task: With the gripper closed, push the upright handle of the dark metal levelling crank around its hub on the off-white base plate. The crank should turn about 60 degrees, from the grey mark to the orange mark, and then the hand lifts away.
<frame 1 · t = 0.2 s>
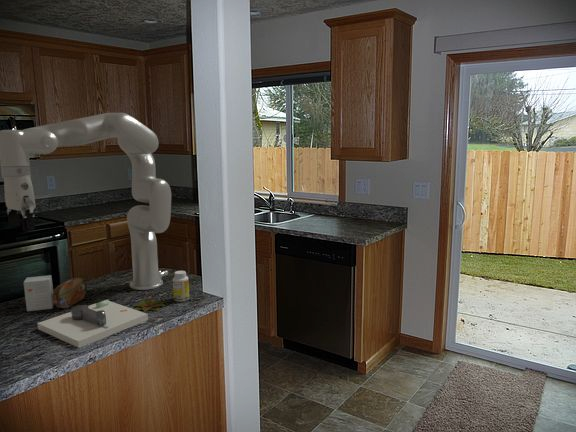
hand: (21, 228, 143), 31 cm above the countertop, tool pointing down, fingers open, 9 cm apart
knob: (89, 313, 146), point 4 cm above the countertop, hinge at 0.0°
supplement bottle: (181, 299, 170), on the countertop
small box: (41, 308, 163), on the countertop
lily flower: (149, 308, 164), on the countertop
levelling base: (94, 324, 149), on the countertop
tin: (71, 304, 166), on the countertop
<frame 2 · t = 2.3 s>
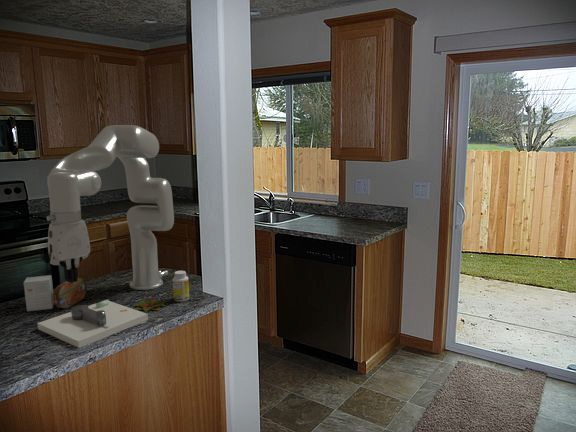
hand: (71, 281, 133), 18 cm above the countertop, tool pointing down, fingers closed
nothing on the countertop moved.
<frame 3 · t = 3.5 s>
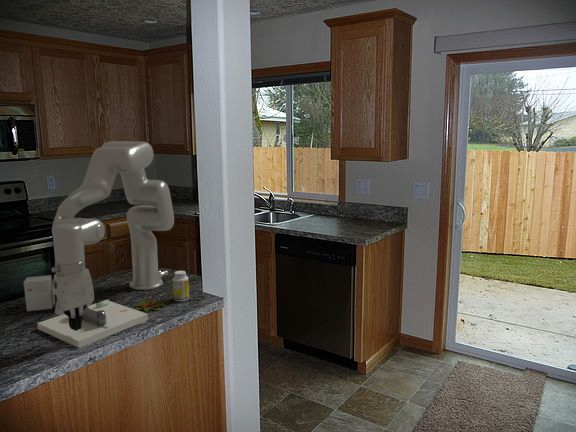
hand: (75, 328, 136), 4 cm above the countertop, tool pointing down, fingers closed
nothing on the countertop moved.
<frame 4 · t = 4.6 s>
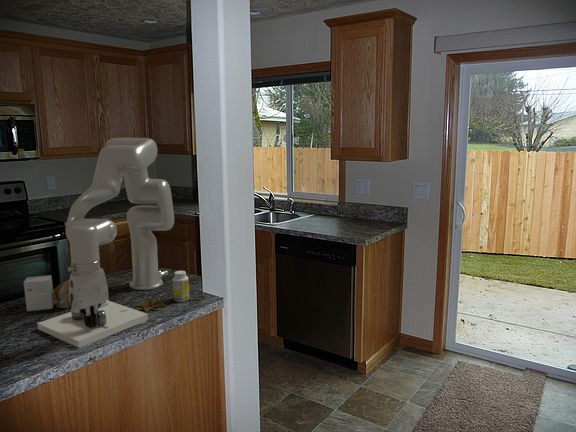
hand: (91, 326, 140), 3 cm above the countertop, tool pointing down, fingers closed
knob: (89, 313, 146), point 4 cm above the countertop, hinge at 0.2°, touching gripper
everything else where it was.
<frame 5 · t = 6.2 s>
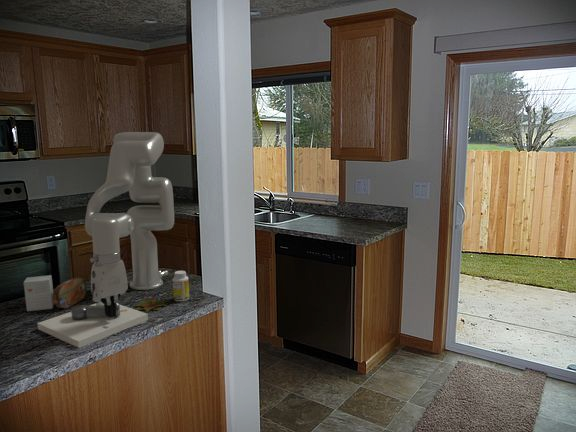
hand: (110, 315, 146), 4 cm above the countertop, tool pointing down, fingers closed
knob: (95, 310, 149), point 4 cm above the countertop, hinge at 37.9°, touching gripper
everything else where it was.
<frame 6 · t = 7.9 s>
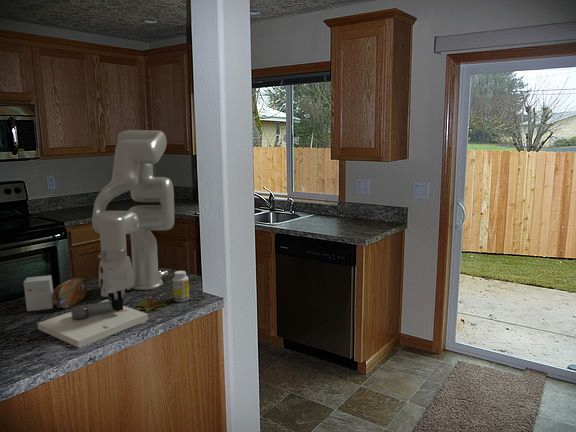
hand: (118, 309, 151), 4 cm above the countertop, tool pointing down, fingers closed
knob: (96, 307, 151), point 4 cm above the countertop, hinge at 65.2°
everything else where it was.
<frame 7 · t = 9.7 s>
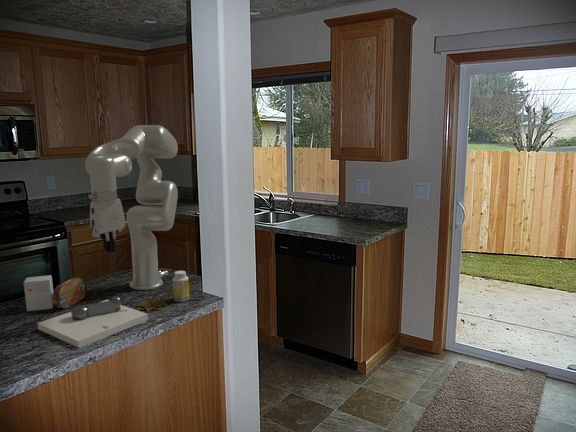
hand: (109, 251, 153), 21 cm above the countertop, tool pointing down, fingers closed
nothing on the countertop moved.
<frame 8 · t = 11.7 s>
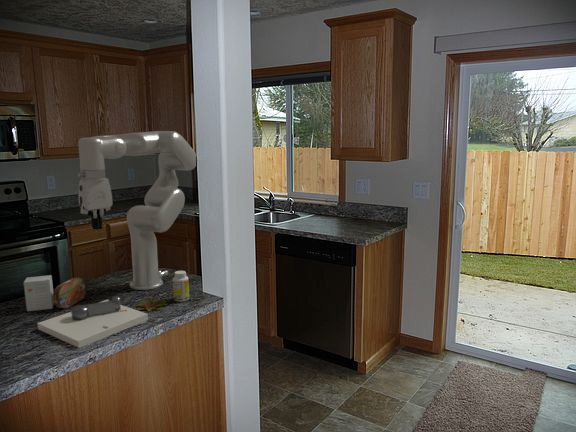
hand: (97, 228, 161), 27 cm above the countertop, tool pointing down, fingers closed
nothing on the countertop moved.
at the end: knob at +65° (first picture: +0°); the gripper is holding nothing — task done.
